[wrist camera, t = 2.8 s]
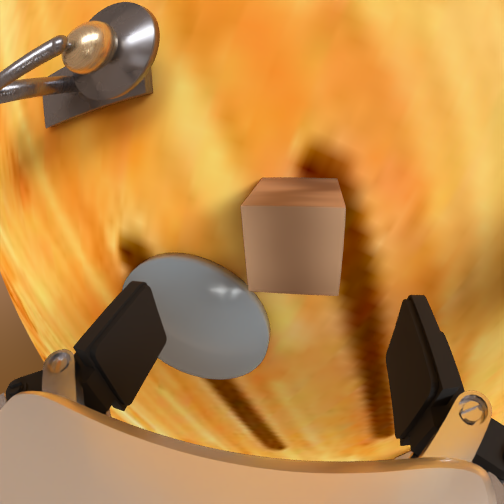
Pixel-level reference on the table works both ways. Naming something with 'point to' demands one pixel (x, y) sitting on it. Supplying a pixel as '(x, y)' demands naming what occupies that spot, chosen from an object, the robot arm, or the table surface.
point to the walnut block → (294, 236)
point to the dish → (205, 316)
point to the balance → (90, 64)
